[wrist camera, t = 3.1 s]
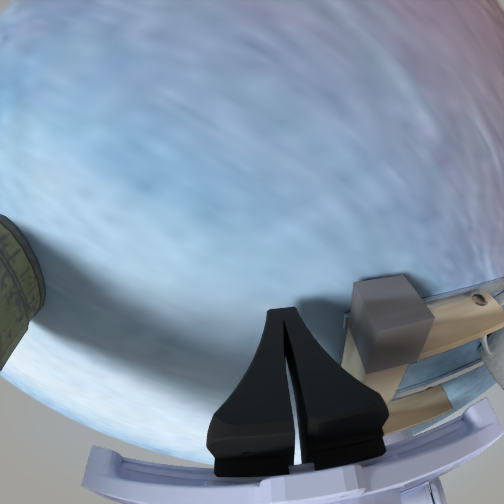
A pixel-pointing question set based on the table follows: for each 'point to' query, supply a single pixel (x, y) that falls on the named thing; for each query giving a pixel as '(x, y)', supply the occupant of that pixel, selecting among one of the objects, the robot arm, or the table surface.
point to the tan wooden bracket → (409, 342)
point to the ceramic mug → (494, 350)
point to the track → (440, 301)
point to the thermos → (17, 287)
